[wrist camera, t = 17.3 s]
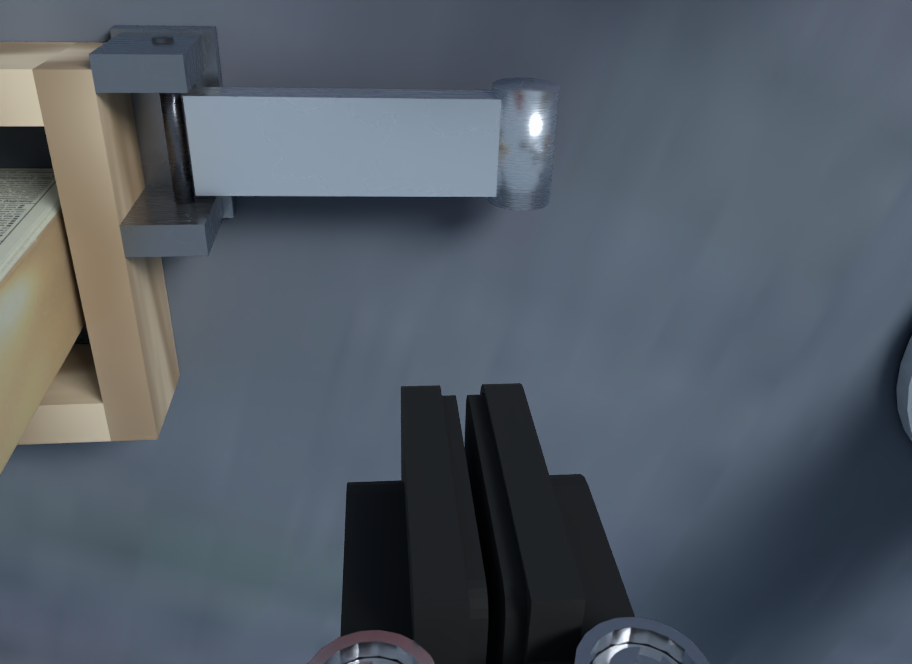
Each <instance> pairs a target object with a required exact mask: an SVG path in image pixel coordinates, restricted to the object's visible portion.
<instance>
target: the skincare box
mask: <svg viewBox="0 0 912 664" xmlns="http://www.w3.org/2000/svg"><path fill="white" fill-rule="evenodd" d="M85 323H86V321H85V316H84V312H83V307H82V302H81V298H80V293H79V288H78V283H77V279H76V274H75V269H74V265H73V260H72V255H71V250H70V246H69V241H68V236H67V232H66V227H65V222H64V217H63V213H62V208H61V203H60V199H59V194H58V189H57V184H56V180H55V175H54V170H53V169H39V168H1V169H0V474H1V473H2V471H3V469H4V467H5V466H6V464H7V462H8V460H9V459H10V457H11V455H12V453H13V451H14V450H15V448H16V446H17V444H18V442H19V441H20V439H21V437H22V435H23V434H24V432H25V430H26V428H27V426H28V424H29V423H30V421H31V419H32V418H33V416H34V414H35V412H36V410H37V408H38V407H39V405H40V403H41V401H42V400H43V398H44V396H45V394H46V392H47V390H48V389H49V387H50V385H51V384H52V382H53V380H54V379H55V377H56V375H57V373H58V371H59V370H60V368H61V366H62V364H63V363H64V361H65V359H66V357H67V355H68V354H69V352H70V350H71V348H72V346H73V344H74V343H75V341H76V339H77V337H78V335H79V334H80V332H81V330H82V328H83V326H84V324H85Z"/></svg>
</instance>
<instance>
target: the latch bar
mask: <svg viewBox="0 0 912 664" xmlns="http://www.w3.org/2000/svg"><path fill="white" fill-rule="evenodd" d="M558 98H559V85H558V84H556V83H554V82H551V81H547V80H541V79H533V78H507V79H501V80H497V81H495V82H493V87H492V90H427V89H345V88H264V87H192V88H191V89H190V90H189V92H188V93H185V94H184V95H183V103H184V110H185V118H186V126H187V133H188V141H189V149H190V157H191V164H192V172H193V180H194V187H195V195H196V196H401V197H487V199H488V201H489V202H490V203H491V204H493V205H495V206H497V207H500V208H504V209H509V210H521V211H525V210H536V209H540V208H543V207H545V206H547V205H548V204H549V203H550V193H551V181H552V169H553V157H554V145H555V134H556V122H557V110H558Z"/></svg>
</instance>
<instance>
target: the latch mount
mask: <svg viewBox="0 0 912 664" xmlns="http://www.w3.org/2000/svg"><path fill="white" fill-rule="evenodd" d="M110 34H111V39H110V40H109V41H107V42H106V43H104V44H103V45H101V46H100V47H98V48H97V49H95V50H94V51H92V52H91V53H89V59H90V65H91V70H92V76H93V81H94V87H95V93H130V94H131V100H132V107H133V113H134V119H135V126H136V132H137V138H138V144H139V151H140V157H141V163H142V169H143V176H144V182H145V188H144V190H143V191H142V193H141V194H140V196H139V197H138V199H137V200H136V202H135V203H134V205H133V206H132V208H131V209H130V211H129V212H128V214H127V215H126V217H125V218H124V220H123V221H122V223H121V224H120V225H119V227H120V232H121V238H122V243H123V249H124V255H125V257H180V256H208V255H209V253H210V250H211V248H212V245H213V242H214V240H215V237H216V235H217V232H218V230H219V227H220V224H221V222H222V219H223V218H234V215H235V212H236V209H235V199H234V196H196V195H195V187H194V180H193V172H192V164H191V157H190V149H189V141H188V133H187V126H186V118H185V110H184V103H183V95H184V94H185V93H188V92H189V90H190V89H191V88H192V87H222V77H221V68H220V59H219V49H218V40H217V30H216V27H212V26H116V25H115V26H113V27H112V28H110Z"/></svg>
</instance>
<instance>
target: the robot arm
mask: <svg viewBox="0 0 912 664" xmlns="http://www.w3.org/2000/svg"><path fill="white" fill-rule="evenodd" d="M896 389H897V407H898V413H899V416H900V419H901V422H902V425H903V428H904V430H905V432H906V433H907V435H908V436H909V438H910V439H911V441H912V336H911V338H910V340H909V343H908V346H907V348H906V351H905V353H904V356H903V359H902V361H901V364H900V370H899V376H898V382H897V388H896ZM401 478H402V481H376V482H348V483H347V494H346V518H345V542H344V566H343V590H342V615H341V637H339V638H337V639H336V640H334V641H332V642H331V643H329V644H328V645H326V646H324V647H323V648H321V649H320V650H319V651H318V652H317V654H316V655H315V656H314V657H313V658H312V659H311V660H310V661H309V662H308V663H307V664H710V663H709V661H708V660H707V658H706V657H705V656H704V654H703V653H702V652H701V651H700V650H699V648H698V647H697V646H696V645H695V643H694V642H692V641H691V640H690V639H688V638H687V637H686V636H684V635H683V634H682V633H680V632H679V631H678V630H676V629H674V628H672V627H669V626H667V625H665V624H662V623H660V622H658V621H654V620H649V619H644V618H639V617H635V616H634V613H633V610H632V607H631V604H630V602H629V599H628V596H627V593H626V590H625V587H624V585H623V582H622V579H621V576H620V573H619V571H618V568H617V565H616V562H615V559H614V557H613V554H612V551H611V548H610V545H609V543H608V540H607V537H606V534H605V531H604V529H603V526H602V523H601V520H600V517H599V514H598V512H597V509H596V506H595V503H594V500H593V498H592V495H591V492H590V489H589V486H588V484H587V482H586V480H585V478H584V476H582V475H581V474H572V475H549V473H548V470H547V466H546V463H545V460H544V456H543V453H542V450H541V446H540V443H539V440H538V436H537V433H536V429H535V426H534V423H533V419H532V416H531V413H530V409H529V406H528V402H527V399H526V396H525V392H524V389H523V386H522V384H520V383H518V384H482V386H481V391H480V395H467V400H466V421H465V448H464V443H463V437H462V430H461V424H460V418H459V412H458V406H457V400H456V396H455V395H451V396H442V395H441V388H440V385H439V386H401Z"/></svg>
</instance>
